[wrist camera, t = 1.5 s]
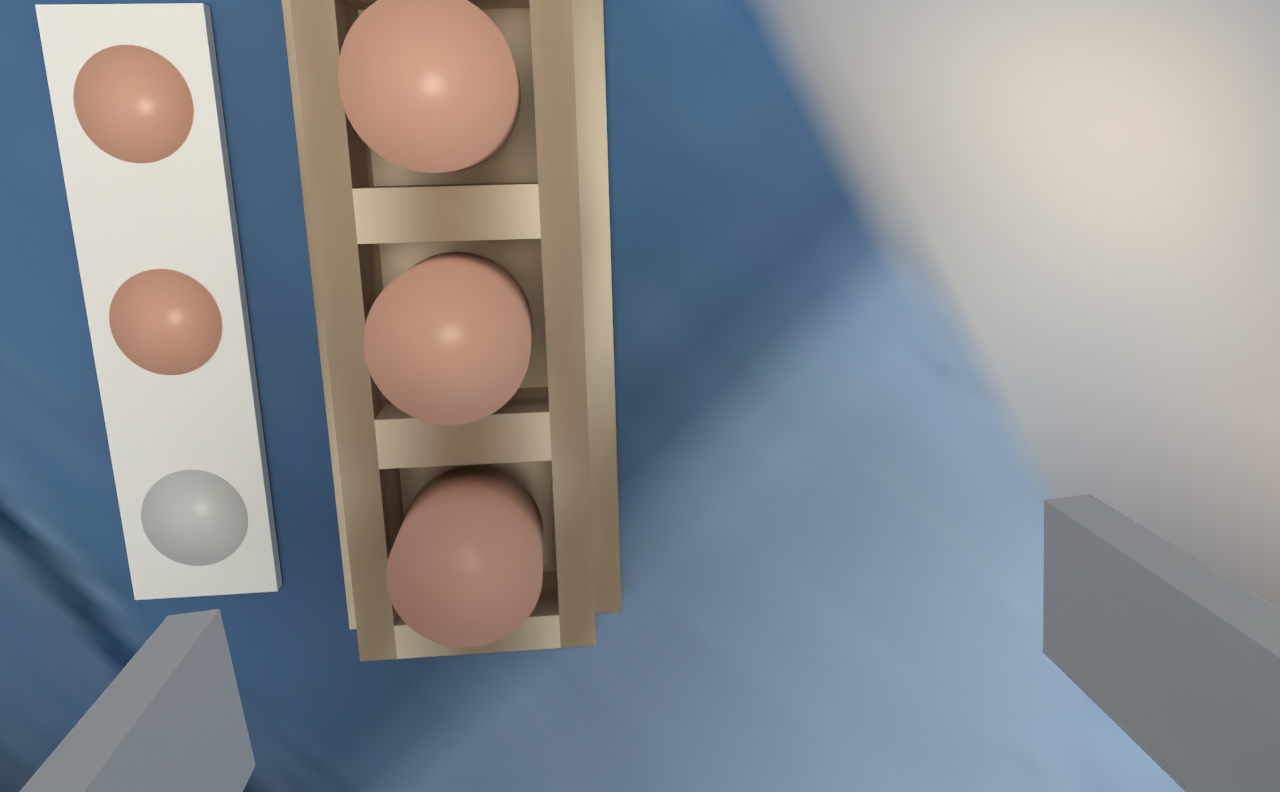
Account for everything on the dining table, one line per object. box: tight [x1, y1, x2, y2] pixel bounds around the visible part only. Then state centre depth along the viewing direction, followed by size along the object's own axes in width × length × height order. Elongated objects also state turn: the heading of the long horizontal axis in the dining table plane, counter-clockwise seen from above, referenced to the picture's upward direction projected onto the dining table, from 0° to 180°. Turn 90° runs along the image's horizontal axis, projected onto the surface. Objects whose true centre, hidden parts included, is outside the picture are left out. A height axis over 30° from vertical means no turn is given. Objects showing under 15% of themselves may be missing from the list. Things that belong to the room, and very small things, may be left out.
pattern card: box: [35, 3, 282, 600], centre depth 32 cm, size 5×20×1 cm, turn 1°
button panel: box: [282, 0, 622, 662], centre depth 31 cm, size 10×23×4 cm, turn 1°
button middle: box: [363, 252, 533, 425], centre depth 28 cm, size 5×5×4 cm
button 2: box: [386, 467, 543, 647], centre depth 29 cm, size 5×5×4 cm
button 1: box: [338, 0, 521, 173], centre depth 26 cm, size 5×5×4 cm
